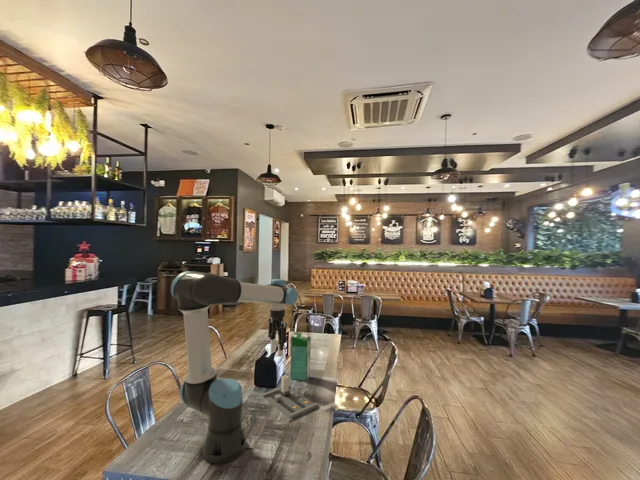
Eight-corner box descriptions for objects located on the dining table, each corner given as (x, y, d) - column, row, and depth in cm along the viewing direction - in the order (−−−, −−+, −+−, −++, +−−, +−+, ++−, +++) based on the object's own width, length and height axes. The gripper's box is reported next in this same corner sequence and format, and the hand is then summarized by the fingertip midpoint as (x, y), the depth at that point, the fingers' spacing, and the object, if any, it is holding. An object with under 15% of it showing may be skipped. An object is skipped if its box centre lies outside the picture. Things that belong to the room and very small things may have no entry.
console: (290, 422, 125) (290, 414, 125) (261, 399, 143) (261, 392, 143) (318, 409, 135) (319, 401, 135) (288, 389, 153) (289, 382, 154)
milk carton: (306, 383, 161) (307, 337, 161) (290, 381, 162) (291, 336, 163) (310, 376, 169) (310, 332, 170) (294, 374, 171) (295, 331, 172)
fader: (284, 395, 143) (284, 378, 143) (279, 392, 146) (279, 375, 147) (290, 393, 145) (290, 376, 145) (285, 389, 149) (285, 373, 149)
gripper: (294, 311, 148) (293, 357, 147) (273, 305, 162) (273, 347, 162) (282, 313, 143) (281, 361, 142) (261, 306, 158) (260, 350, 157)
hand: (276, 353), depth 152 cm, fingers open, 6 cm apart
